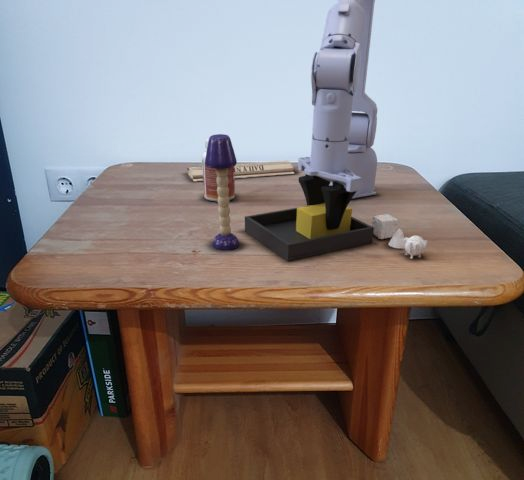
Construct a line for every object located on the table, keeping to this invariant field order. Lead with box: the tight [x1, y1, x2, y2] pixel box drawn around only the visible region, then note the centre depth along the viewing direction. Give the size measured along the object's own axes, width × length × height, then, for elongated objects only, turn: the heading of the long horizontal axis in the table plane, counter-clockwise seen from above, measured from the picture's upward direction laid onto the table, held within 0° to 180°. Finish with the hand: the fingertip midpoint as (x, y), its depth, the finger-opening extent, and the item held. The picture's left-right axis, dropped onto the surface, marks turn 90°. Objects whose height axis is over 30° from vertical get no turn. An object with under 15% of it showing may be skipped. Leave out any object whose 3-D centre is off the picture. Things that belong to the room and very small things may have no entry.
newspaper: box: [186, 160, 296, 182], centre depth 121 cm, size 24×7×2 cm, turn 108°
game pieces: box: [371, 213, 428, 259], centre depth 85 cm, size 12×3×3 cm, turn 20°
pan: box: [244, 205, 374, 262], centre depth 88 cm, size 16×14×3 cm
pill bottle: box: [201, 137, 236, 203], centre depth 103 cm, size 6×6×11 cm
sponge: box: [296, 203, 353, 239], centre depth 88 cm, size 8×4×4 cm, turn 119°
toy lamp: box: [205, 133, 240, 251], centre depth 81 cm, size 5×5×17 cm
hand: (323, 223), depth 89 cm, fingers closed on sponge, 4 cm apart
